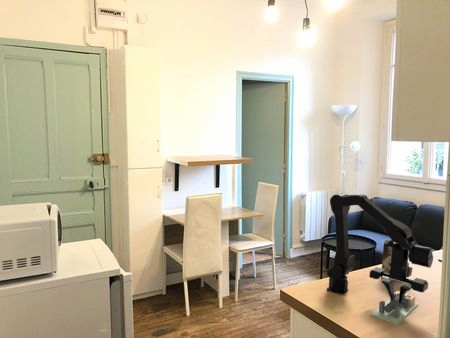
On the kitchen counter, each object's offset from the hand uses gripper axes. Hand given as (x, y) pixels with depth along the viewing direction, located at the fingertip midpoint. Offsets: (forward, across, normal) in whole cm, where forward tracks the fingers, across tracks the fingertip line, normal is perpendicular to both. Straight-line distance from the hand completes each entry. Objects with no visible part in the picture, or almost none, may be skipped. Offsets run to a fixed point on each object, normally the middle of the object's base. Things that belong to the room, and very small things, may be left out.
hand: (396, 301), depth 135 cm
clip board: (+3, 0, +1) cm, 3 cm away
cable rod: (+1, 0, +1) cm, 1 cm away
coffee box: (+3, +12, -30) cm, 32 cm away
